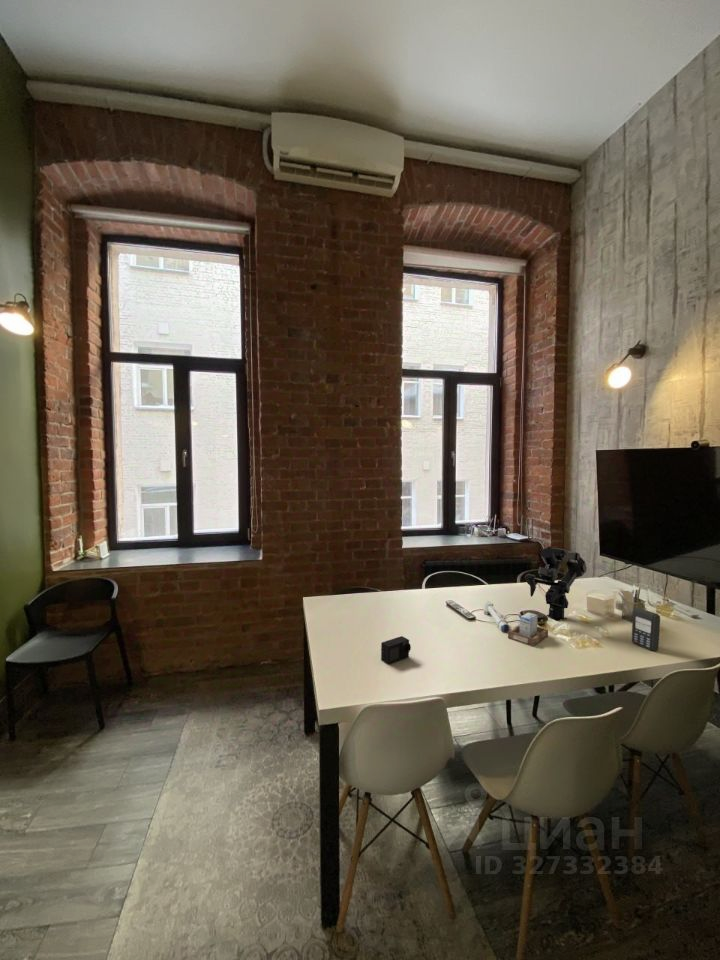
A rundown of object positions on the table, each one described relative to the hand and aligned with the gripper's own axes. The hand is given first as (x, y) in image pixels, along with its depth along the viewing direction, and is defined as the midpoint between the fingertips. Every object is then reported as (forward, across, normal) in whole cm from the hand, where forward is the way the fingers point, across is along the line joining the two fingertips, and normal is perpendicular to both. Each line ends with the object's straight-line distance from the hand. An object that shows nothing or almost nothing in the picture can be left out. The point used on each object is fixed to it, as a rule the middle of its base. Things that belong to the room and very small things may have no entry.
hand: (541, 598), depth 184 cm
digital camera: (+61, -25, -41) cm, 77 cm away
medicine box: (+19, 0, -1) cm, 19 cm away
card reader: (+1, +37, +19) cm, 42 cm away
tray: (+20, 0, 0) cm, 20 cm away
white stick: (+16, -18, +4) cm, 24 cm away
